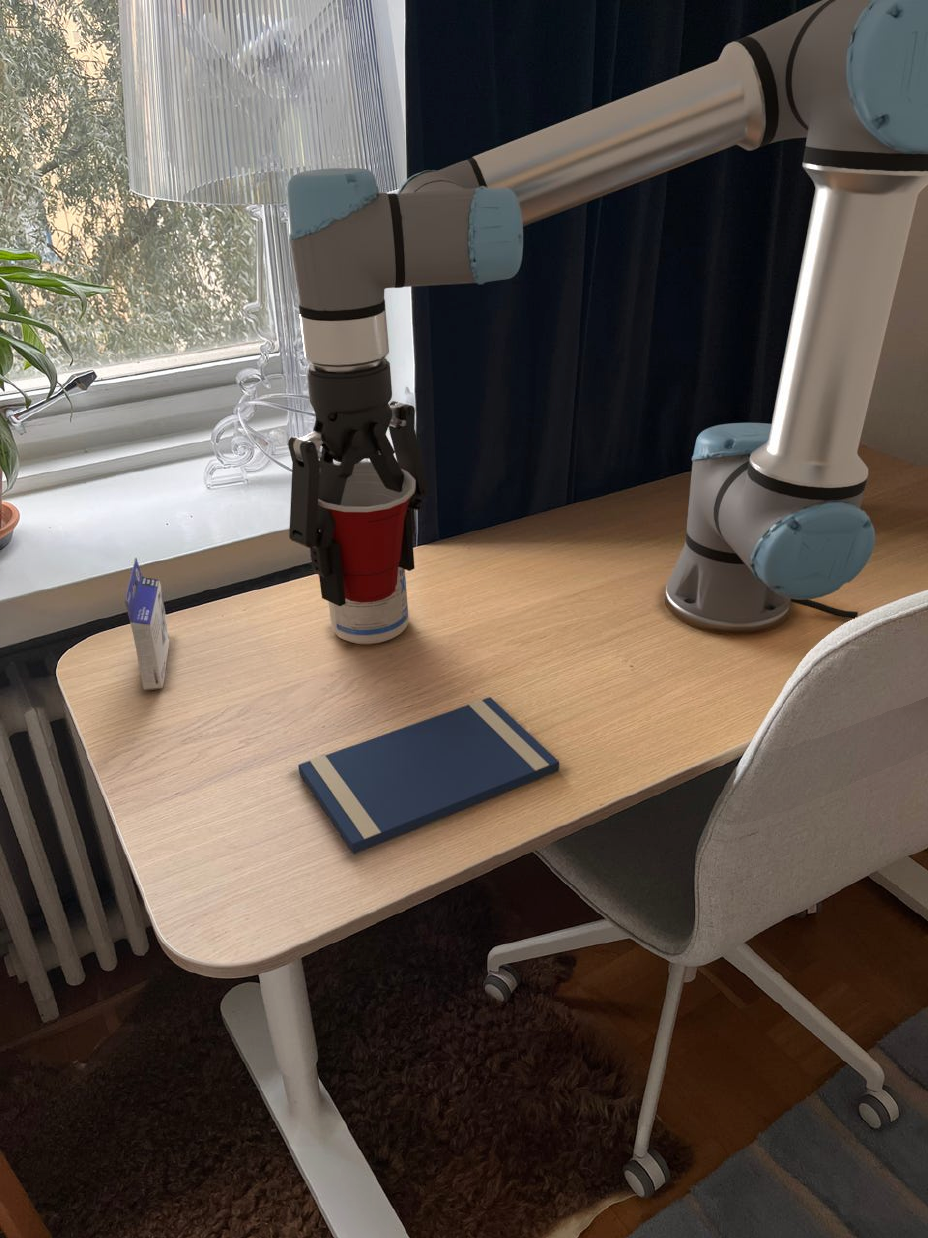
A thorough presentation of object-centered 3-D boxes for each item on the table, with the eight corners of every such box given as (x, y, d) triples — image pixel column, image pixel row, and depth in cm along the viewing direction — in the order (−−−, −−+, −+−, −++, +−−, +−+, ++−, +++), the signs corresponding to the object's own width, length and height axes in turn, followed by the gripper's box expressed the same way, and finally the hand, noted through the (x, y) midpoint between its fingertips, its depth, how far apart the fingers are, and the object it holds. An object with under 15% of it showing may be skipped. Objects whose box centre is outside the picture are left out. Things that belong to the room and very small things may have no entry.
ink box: (165, 690, 108) (145, 600, 103) (143, 692, 108) (122, 602, 102) (172, 638, 118) (155, 553, 112) (153, 640, 118) (134, 555, 112)
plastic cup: (381, 627, 91) (370, 510, 85) (294, 600, 97) (278, 489, 91) (443, 579, 99) (437, 470, 93) (360, 557, 104) (349, 452, 98)
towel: (490, 705, 104) (490, 695, 103) (559, 771, 94) (559, 760, 94) (299, 774, 95) (297, 763, 94) (353, 854, 85) (352, 843, 84)
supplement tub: (423, 631, 118) (417, 521, 110) (354, 656, 113) (343, 543, 106) (384, 600, 125) (375, 495, 118) (318, 622, 121) (305, 514, 113)
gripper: (404, 329, 95) (418, 536, 106) (222, 381, 82) (260, 612, 93) (459, 340, 91) (468, 555, 102) (277, 397, 77) (310, 638, 88)
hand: (369, 582), depth 97 cm, fingers closed on plastic cup, 9 cm apart
